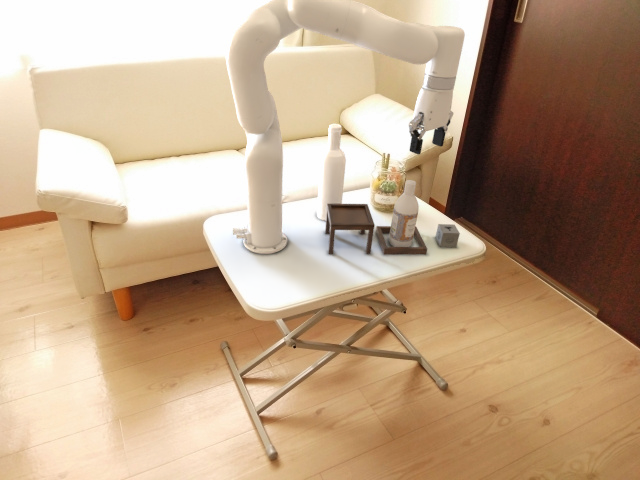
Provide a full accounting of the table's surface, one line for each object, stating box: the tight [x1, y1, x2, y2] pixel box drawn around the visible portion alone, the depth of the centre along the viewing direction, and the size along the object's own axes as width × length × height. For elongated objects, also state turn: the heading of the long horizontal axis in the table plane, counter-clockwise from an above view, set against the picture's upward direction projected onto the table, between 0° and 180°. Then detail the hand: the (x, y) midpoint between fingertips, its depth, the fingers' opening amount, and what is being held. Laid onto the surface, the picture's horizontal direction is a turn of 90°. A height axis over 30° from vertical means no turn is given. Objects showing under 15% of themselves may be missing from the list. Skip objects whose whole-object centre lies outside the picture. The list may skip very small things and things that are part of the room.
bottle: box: [316, 123, 347, 222], centre depth 139 cm, size 8×8×30 cm
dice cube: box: [434, 223, 461, 249], centre depth 135 cm, size 5×5×5 cm
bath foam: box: [388, 179, 420, 247], centre depth 130 cm, size 7×7×20 cm
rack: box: [324, 203, 428, 256], centre depth 132 cm, size 28×12×10 cm, turn 95°
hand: (426, 148), depth 120 cm, fingers open, 9 cm apart
